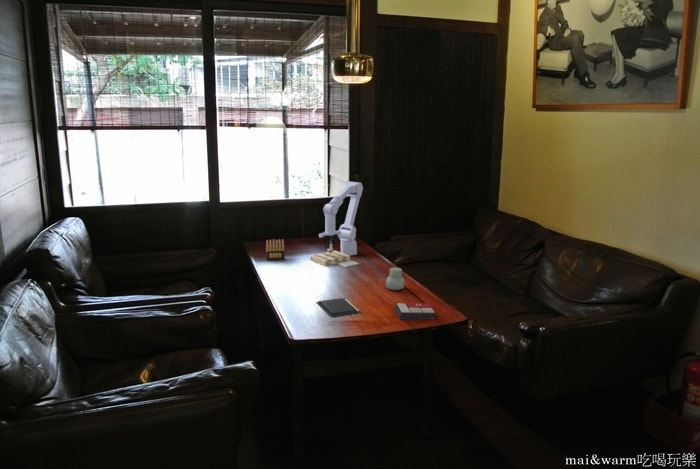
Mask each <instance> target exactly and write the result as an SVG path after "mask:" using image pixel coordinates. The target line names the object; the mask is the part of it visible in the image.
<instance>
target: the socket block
mask: <svg viewBox="0 0 700 469" xmlns="http://www.w3.org/2000/svg"><path fill="white" fill-rule="evenodd" d="M340 252H341V251H338V250H333V252H332V253H328V252H327V251H326V252H321V253H317V254H312V255H311V254H310V257H309V258H310V259H309V261H311V262H313V263H316V264H318V265H320V266H324V267H326V266H327V267H328V266H331V265H332V266H333V265H338V263H342V262H346V261H351V258H350V257H351V256H349V255H346V254H343V253H340ZM327 255H333V256H332V257H328V256H327Z"/></svg>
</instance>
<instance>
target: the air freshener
mask: <svg viewBox="0 0 700 469" xmlns="http://www.w3.org/2000/svg"><path fill="white" fill-rule="evenodd" d="M402 271H403V269H402V268H400V267H391V268H389V276H387V277H386V282H385V287H386V288H387V289H389V290H392V291H399V290H400V289H401V290H403V289H404V287H405V278H404V277H402V276H403V274H402Z"/></svg>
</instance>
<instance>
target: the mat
mask: <svg viewBox="0 0 700 469" xmlns="http://www.w3.org/2000/svg"><path fill="white" fill-rule="evenodd" d="M337 265H338V266H341V267H343V268H348V267H353V266H357V265H360V262H357V261H354V260H351V259H350V261H346V262H342V263H337Z"/></svg>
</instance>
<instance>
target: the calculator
mask: <svg viewBox="0 0 700 469" xmlns="http://www.w3.org/2000/svg"><path fill="white" fill-rule="evenodd" d="M394 310H395V311H396V312H395V314H396V313H397V314H396V315H397V317H398V319H399V318H400V319H399V320H400V321H401V320H402V321H412V320H411V319H430V318H435V319H436V312H435V311H434V309H433V308H432V306H431V305H430V304H429V303H421V302H420V303H418V302H414V303H413V302H411V303H410V302H406V303H399V302H398V303H396V304H395V309H394Z"/></svg>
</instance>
